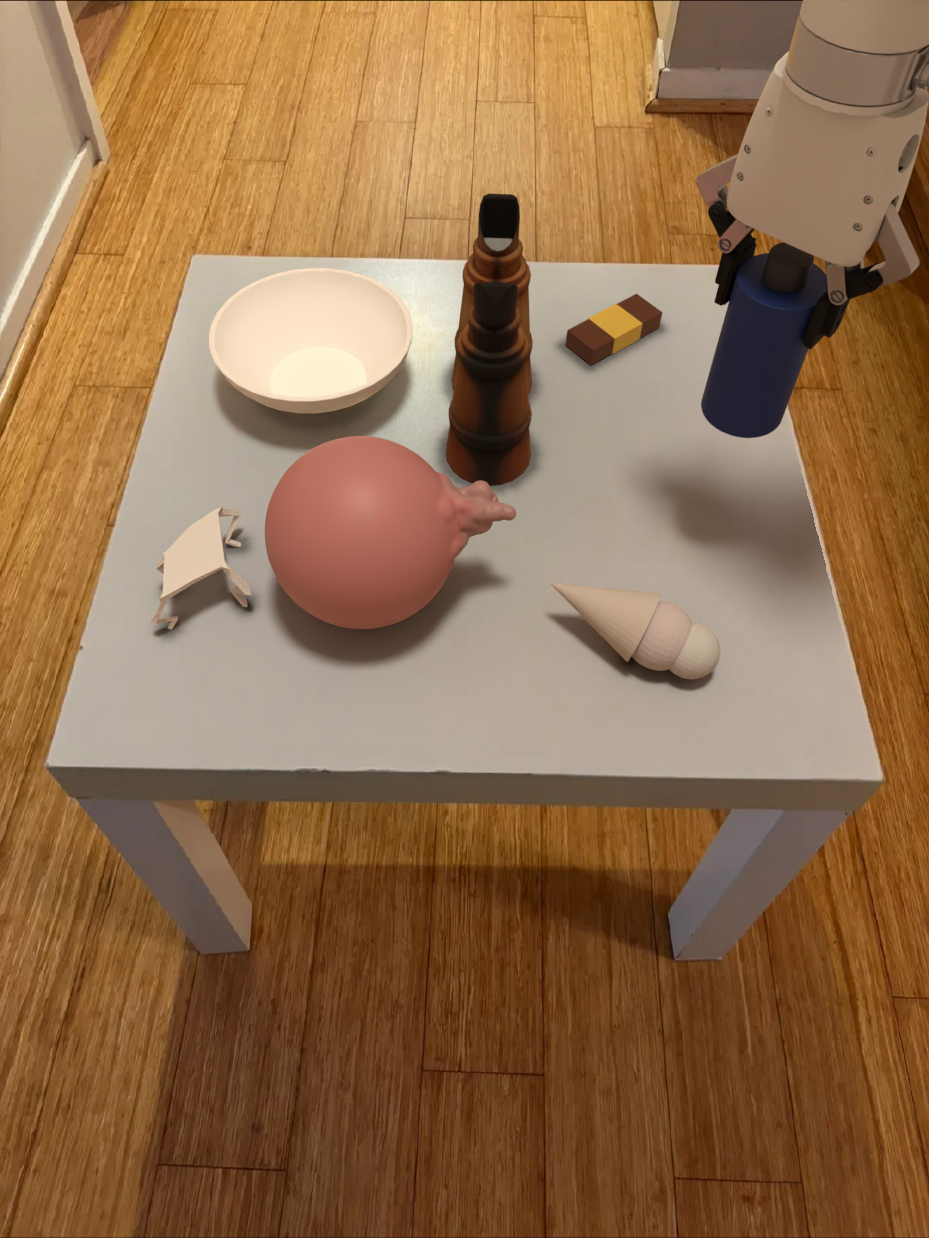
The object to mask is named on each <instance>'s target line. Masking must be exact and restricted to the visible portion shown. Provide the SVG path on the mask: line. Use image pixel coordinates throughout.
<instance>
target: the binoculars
mask: <svg viewBox="0 0 929 1238" xmlns="http://www.w3.org/2000/svg"><path fill="white" fill-rule="evenodd" d="M518 199H519V198H518V196H515V195H514V194H510V193H486V194H484V195H483V196H482V198H481V201H480V203H479V210H478V216H477V217H478V221H477V237H476V238H475V239H474V240H473V243H472V253H471V254H470V255H469V256H468V260H467V261H466V262H465V264H464V266H463V269H462V283H463V287H462V294H461V295H462V296H461V303H460V311H459V320H458V328H457V329H456V332H455V335H454V350H455V357H454V362H453V369H452V376H451V386H452V391H453V392H452V399H451V401H450V404H449V407H448V420H449V428H448V434H447V441H446V446H445V447H446V448H445V455H446V456H445V457H446V462H447V464H448V465H449V467H450V469H451V471H452V472H454V474H456V475H457V476H458V477H459V478H460V479H462V480H464V481H466V482H469V483H471V484H473V483H474V482H476V481H479V480H482V481H485V482H487V483H488V484H489V486H500V485H504V484H506V483H509V482H512V481H514V480H516V479H517V478H519V477H520V476H521V475H523V474H524V472H525V471H526V469H527V468H528V467H529V466H530V461H531V456H532V450H531V449H532V448H531V435H530V427H531V421H532V415H533V413H532V408H531V404H530V403H531V402H530V401H529V400H530V399H529V397H530V396H529V395H530V394H531V390H532V385H533V379H532V365H531V364H532V362H531V354H532V350H533V345H534V344H533V343H534V341H533V336H532V332H531V324H530V323H531V322H530V287H529V286H530V282H531V276H532V273H531V269H530V265H529V264H528V262H527V260H526V258H525V257H524V255H523V252H524V251H523V250H524V247H523V242H522V241H521V240H520V224H521V223H520V222H521V212H520V211H521V209H520V204H519V200H518Z"/></svg>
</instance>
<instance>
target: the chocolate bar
mask: <svg viewBox="0 0 929 1238" xmlns="http://www.w3.org/2000/svg"><path fill="white" fill-rule="evenodd" d="M662 318H663V311H661V310H660V309H659V308H657V307H656V306H655V305H653V304H652V303H651V302H649V301H648V300H646V299H645V298H643V296H641V295H639V294H638V293H634V294H633V295H631V296H629V297H626V298H625V299H623V300H622V301H620V302H618V303H614V304H613V305H611V306H608V307H607V308H605V309H603V310H601V311H599V312H598V313H596V314H594V315H592V316H590V317H588V318H587V319H586V320H584V321H582V322H580V323H578V324H576V325H574V326H572V327H570V328H568V329H567V331H566V339H565V346H566V347H567V348H568V349H569V350H571V351H572V352H573V353H574V354H576V355H577V356H578V357H580V358H581V359H582V360H583V361H585V362H586V363H587V364H588V365H589V366H593V365H594V364H596V363H597V362H600V361H601V360H603V359H605V358H607V357H608V356H610V355H614V354H616V353H617V352H619V351H621V350H623V349H624V348H626V347H628V346H630V345H632V344H634V343H636V342H637V341H639V340H640V339H641V338H643V337H645V336H646V335H649V334H650V333H652V332H654V331H655V330H658V329H659V328H660V326H661V322H662Z"/></svg>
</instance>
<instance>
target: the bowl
mask: <svg viewBox="0 0 929 1238" xmlns="http://www.w3.org/2000/svg"><path fill="white" fill-rule="evenodd" d="M413 328H414V324H413V320H412V316H411V313H410V311H409V309H408V308H407V305H406V304H405V302H404V301H403V300H402V298H401V297H400V296H398V294H396V293H395V291H394V290H393V289H391V288H389V287H388V286H386V285H385V284H384V283H382V282H380V281H378V280H377V279H373V278H372V277H369V276H367V275H364V274H362V273H358V272H354V271H350V270H345V269H339V268H338V269H337V268H331V267H308V268H298V269H291V270H286V271H282V272H278V273H274V274H271V275H268V276H266V277H263V278H260V279H258V280H255V281H253V282H251V283H250V284H248V285H245V286H244V287H242V288H241V289H239V290H238V291H237V292H235V293H234V294H233V295H231V296H230V297H229V298H228V299H226V301H225V302H224V303H223V305H222V306H221V307H220V308H219V309H218V310H217V312H216V314H215V316H214V317H213V320H212V321H211V323H210V328H209V333H208V348H209V352H210V354H211V356H212V360H213V362H214V364H215V366H216V368H217V369H218V370H219V372H220V373H221V374H222V375H223V377H224V378H225V380H226V381H227V382H228V383H229V384H230V386H232V387H233V388H235V389H236V390H237V391H238V392H240V393H241V394H242V395H244V396H246V397H247V398H249V399H251V400H253V401H255V402H257V403H259V404H261V405H263V406H264V407H268V408H271V409H273V410H274V409H275V410H277V411H281V412H288V413H293V414H322V413H330V412H335V411H339V410H343V409H346V408H349V407H352V406H355V405H357V404H359V403H361V402H364V401H366V400H367V399H368V398H370V397H372V396H374V395H375V394H376V393H378V392H379V391H380V390H382V389H383V388H384V387H385V386H386V385H387V384H388V383H389V382H390V381H391V380H392V379H393V378H394V377H395V376H396V375H397V374H398V372H399V371H400V370H401V368H402V366H403V365H404V363H405V361H406V359H407V357H408V353H409V351H410V348H411V345H412V341H413V332H414V331H413Z"/></svg>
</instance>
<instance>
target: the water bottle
mask: <svg viewBox="0 0 929 1238" xmlns="http://www.w3.org/2000/svg"><path fill="white" fill-rule="evenodd" d="M814 262H815V256H813V255H811V254H809V253H807V252H804V251H802V250H800V249H798V248H795V247H793V246H791V245H789V244H786V243H784V242H779V243H776V244H774V245H773V246H772V247H770V249H769V251H768V252H765V253H760V254H756V255H754V256H753V257H751V258H749V259H747V260H746V261H745V262H743V263H742V265H741V266H740V267H739V269H738V271H737V275H736V278H735V282H734V286H733V289H732V293H731V296H730V300H729V302H728V303H727V306H726V312H725V315H724V319H723V322H722V325H721V329H720V333H719V336H718V339H717V343H716V347H715V350H714V355H713V358H712V362H711V365H710V369H709V372H708V376H707V379H706V383H705V387H704V390H703V394H702V398H701V401H700V408H701V412H702V414H703V417H704V418H705V419H706V421H707V422H708V423H709V424H710V426H713V427H714V428H715V429H716V430H718V431H719V432H722V433H724V434H726V435H729V436H731V437H736V438H743V439H755V438H756V439H757V438H760V437H765V436H768V435H770V434H771V433H772V432H774V431H775V430H777V428H778V427H779V426H780V425H781V423H782V420H783V418H784V416H785V414H786V410H787V407H788V406H789V405H788V404H789V402H790V399H791V397H792V394H793V392H794V389H795V386H796V384H797V381H798V379H799V376H800V373H801V371H802V368H803V365H804V362H805V360H806V357H807V354H808V352H809V349H808V348H806V347H804V344H803V343H802V342H803V339H804V336H805V334H806V331H807V328H808V326H809V323H810V320H811V317H812V315H813V312H814V309H815V307H816V304H817V302H818V300H819V299H820V297H821V296H822V295H823V294H824V293H825V292H827V291H828V286H827V275H826V272H825V271H824V270H823V269H822V268H821V267H819V266H818V265H817V264H816V263H814Z"/></svg>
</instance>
